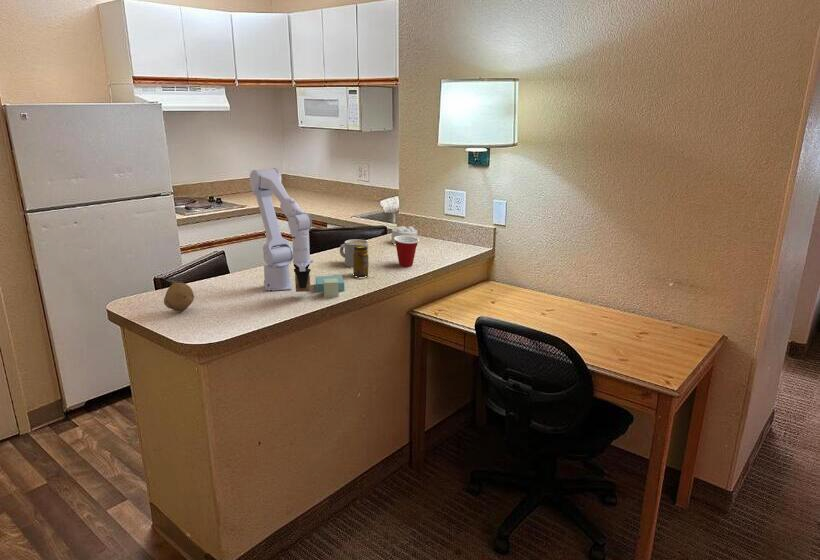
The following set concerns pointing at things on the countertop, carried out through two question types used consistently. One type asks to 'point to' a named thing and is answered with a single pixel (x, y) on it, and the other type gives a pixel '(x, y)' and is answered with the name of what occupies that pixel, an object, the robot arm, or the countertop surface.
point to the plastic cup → (406, 249)
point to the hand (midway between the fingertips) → (302, 285)
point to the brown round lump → (179, 297)
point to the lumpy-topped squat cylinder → (403, 232)
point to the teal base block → (320, 278)
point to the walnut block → (302, 288)
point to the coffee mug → (351, 250)
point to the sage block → (331, 287)
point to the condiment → (360, 262)
